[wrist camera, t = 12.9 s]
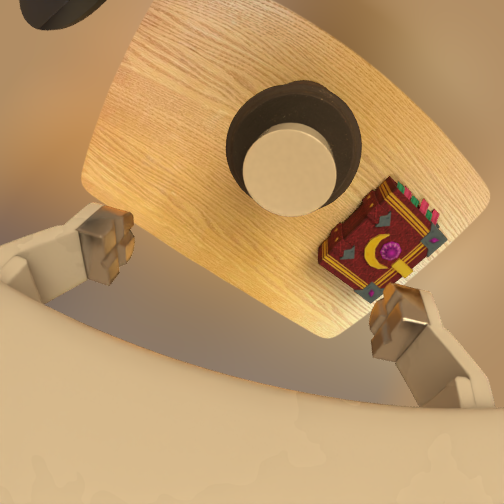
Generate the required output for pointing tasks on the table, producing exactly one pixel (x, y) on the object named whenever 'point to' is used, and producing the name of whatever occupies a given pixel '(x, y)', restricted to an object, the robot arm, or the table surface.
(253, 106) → the container
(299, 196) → the beige cylinder disc
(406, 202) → the decorative book
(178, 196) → the table surface
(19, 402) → the robot arm
